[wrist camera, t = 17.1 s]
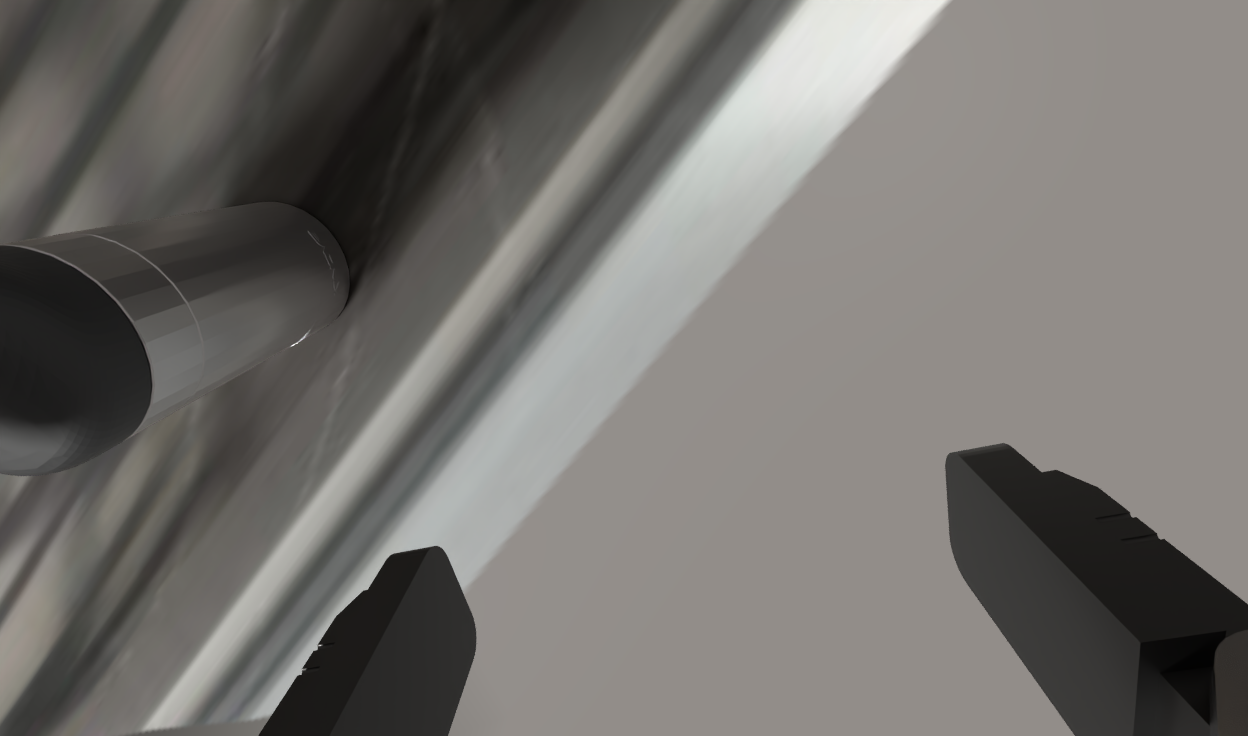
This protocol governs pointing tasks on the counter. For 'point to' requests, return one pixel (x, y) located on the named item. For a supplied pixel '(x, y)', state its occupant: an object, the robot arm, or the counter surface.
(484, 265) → the counter surface
